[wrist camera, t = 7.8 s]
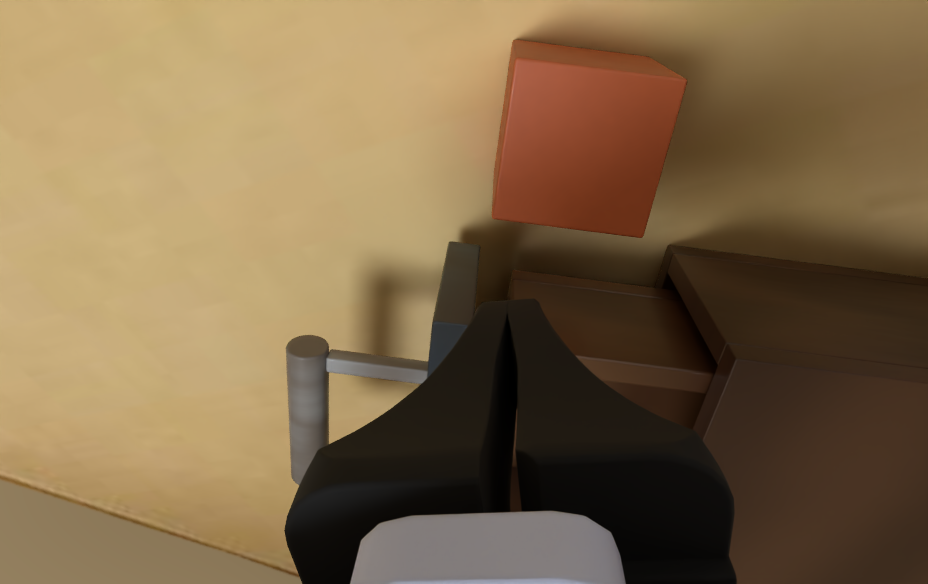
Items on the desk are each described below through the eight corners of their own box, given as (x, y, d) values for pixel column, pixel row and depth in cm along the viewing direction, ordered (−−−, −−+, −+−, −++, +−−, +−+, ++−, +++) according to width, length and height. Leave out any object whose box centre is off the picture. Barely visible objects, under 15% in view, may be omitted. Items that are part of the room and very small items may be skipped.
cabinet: (595, 478, 29) (623, 632, 22) (667, 244, 23) (736, 359, 16) (891, 516, 29) (1008, 681, 22) (1044, 292, 23) (1269, 427, 16)
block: (512, 38, 19) (514, 56, 15) (650, 56, 19) (689, 79, 15) (493, 173, 22) (491, 219, 18) (617, 189, 22) (643, 239, 18)
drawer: (321, 448, 28) (279, 556, 22) (319, 223, 22) (263, 299, 17) (709, 497, 28) (756, 617, 22) (805, 286, 22) (895, 380, 17)
